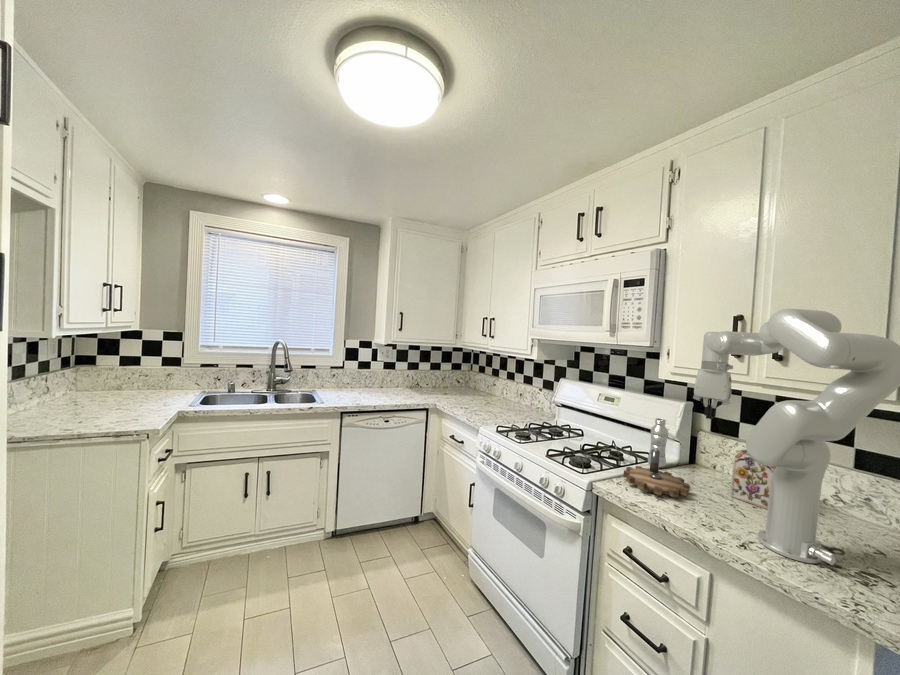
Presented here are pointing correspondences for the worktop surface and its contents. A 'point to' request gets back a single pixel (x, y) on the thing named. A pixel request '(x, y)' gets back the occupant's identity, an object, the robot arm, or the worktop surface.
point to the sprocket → (656, 478)
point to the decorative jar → (751, 480)
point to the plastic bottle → (659, 440)
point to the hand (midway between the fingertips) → (709, 418)
